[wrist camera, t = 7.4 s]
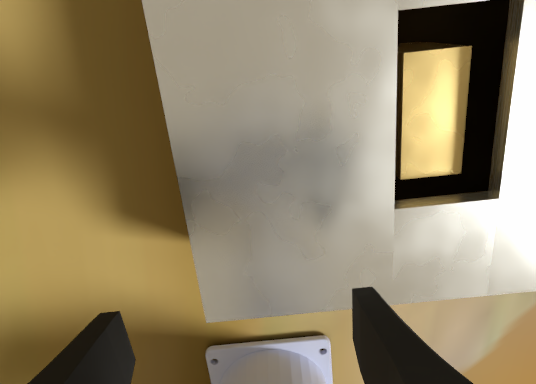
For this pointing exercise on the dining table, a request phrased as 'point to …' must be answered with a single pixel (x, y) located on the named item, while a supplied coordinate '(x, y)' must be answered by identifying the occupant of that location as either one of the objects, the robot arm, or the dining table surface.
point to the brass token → (431, 108)
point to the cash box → (330, 159)
